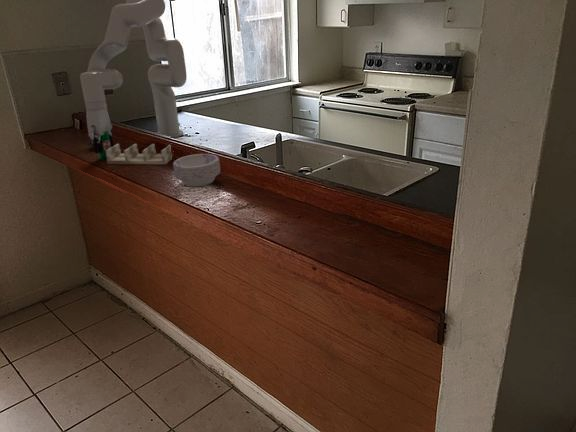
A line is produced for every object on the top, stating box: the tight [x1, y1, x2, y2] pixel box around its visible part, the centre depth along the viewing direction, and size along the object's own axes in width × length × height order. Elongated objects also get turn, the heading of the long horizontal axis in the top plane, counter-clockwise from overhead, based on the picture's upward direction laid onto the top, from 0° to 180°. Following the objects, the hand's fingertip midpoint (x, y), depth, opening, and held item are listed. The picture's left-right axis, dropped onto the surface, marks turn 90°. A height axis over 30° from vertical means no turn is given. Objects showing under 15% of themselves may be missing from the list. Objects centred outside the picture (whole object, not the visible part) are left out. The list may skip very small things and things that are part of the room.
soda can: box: [95, 130, 111, 161], centre depth 196 cm, size 5×5×12 cm
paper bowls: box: [172, 153, 221, 188], centre depth 166 cm, size 15×15×8 cm
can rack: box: [106, 143, 173, 165], centre depth 193 cm, size 10×24×5 cm, turn 82°
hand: (104, 149), depth 197 cm, fingers open, 8 cm apart
